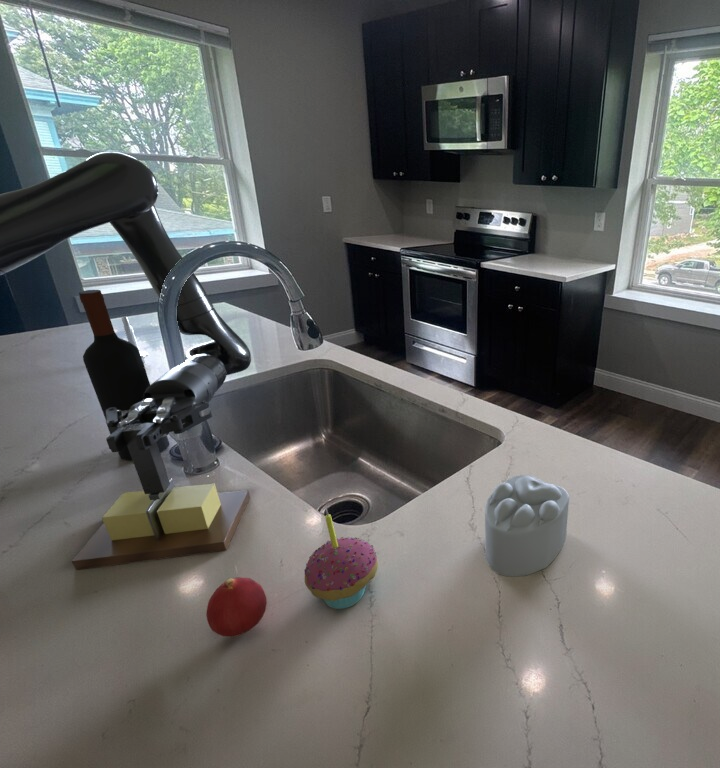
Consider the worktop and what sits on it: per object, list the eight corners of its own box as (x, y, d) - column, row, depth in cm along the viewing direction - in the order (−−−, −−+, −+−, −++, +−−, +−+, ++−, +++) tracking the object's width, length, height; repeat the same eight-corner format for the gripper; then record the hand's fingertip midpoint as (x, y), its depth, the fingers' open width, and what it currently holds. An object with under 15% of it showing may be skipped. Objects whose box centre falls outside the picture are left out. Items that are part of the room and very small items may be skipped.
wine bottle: (120, 465, 83) (57, 299, 71) (118, 447, 88) (59, 290, 76) (171, 451, 87) (120, 293, 75) (166, 435, 93) (118, 284, 80)
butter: (111, 540, 64) (101, 517, 63) (131, 514, 69) (123, 492, 67) (208, 528, 67) (201, 506, 65) (221, 504, 72) (214, 483, 70)
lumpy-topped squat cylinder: (574, 531, 70) (578, 483, 67) (532, 590, 60) (535, 538, 56) (515, 506, 75) (516, 461, 72) (467, 557, 65) (465, 507, 61)
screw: (129, 367, 124) (127, 362, 127) (151, 363, 127) (148, 358, 130) (113, 319, 118) (111, 315, 121) (136, 316, 121) (134, 312, 124)
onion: (220, 616, 55) (203, 565, 52) (273, 602, 57) (261, 553, 54) (210, 660, 50) (191, 607, 47) (269, 643, 52) (255, 592, 49)
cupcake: (298, 592, 59) (281, 516, 54) (360, 557, 64) (350, 486, 60) (329, 636, 53) (313, 556, 48) (394, 594, 59) (385, 519, 54)
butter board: (75, 570, 61) (71, 561, 61) (123, 511, 72) (119, 503, 71) (226, 550, 65) (223, 542, 64) (250, 497, 76) (248, 489, 75)
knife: (147, 541, 64) (109, 442, 58) (171, 506, 71) (139, 414, 65) (167, 538, 65) (132, 440, 58) (188, 504, 72) (159, 413, 65)
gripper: (126, 373, 72) (51, 423, 56) (226, 366, 75) (180, 413, 59) (141, 416, 75) (73, 476, 59) (236, 409, 78) (195, 464, 62)
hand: (127, 444), depth 59 cm, fingers closed on knife, 2 cm apart
